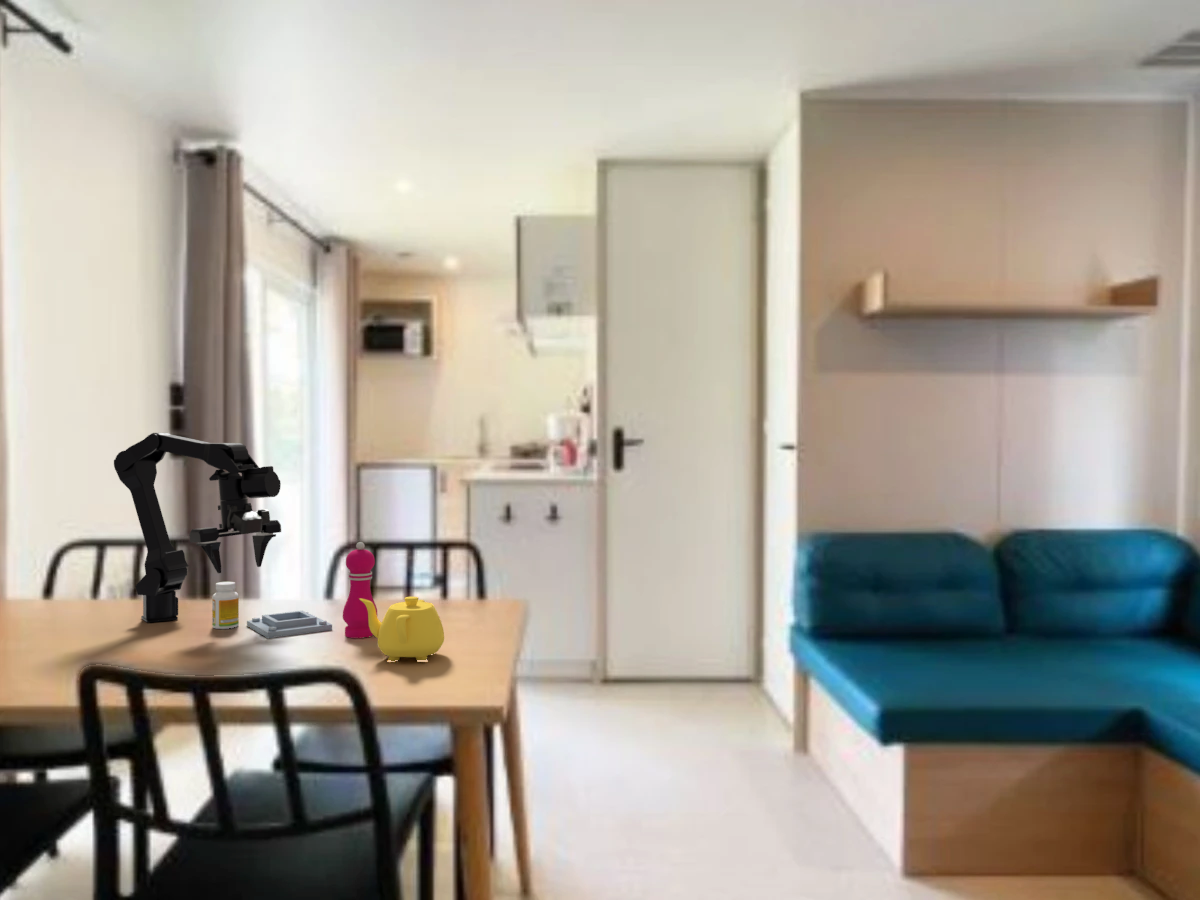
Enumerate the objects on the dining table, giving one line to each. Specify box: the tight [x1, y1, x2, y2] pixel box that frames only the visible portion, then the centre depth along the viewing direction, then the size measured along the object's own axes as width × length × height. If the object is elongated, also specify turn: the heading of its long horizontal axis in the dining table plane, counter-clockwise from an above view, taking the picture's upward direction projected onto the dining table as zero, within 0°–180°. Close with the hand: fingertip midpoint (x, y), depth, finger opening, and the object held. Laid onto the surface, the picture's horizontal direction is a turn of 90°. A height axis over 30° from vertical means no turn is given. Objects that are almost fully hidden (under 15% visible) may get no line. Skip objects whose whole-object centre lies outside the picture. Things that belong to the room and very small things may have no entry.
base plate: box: [246, 610, 333, 639], centre depth 208 cm, size 14×14×3 cm
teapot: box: [360, 596, 445, 661], centre depth 184 cm, size 14×14×12 cm
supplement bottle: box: [211, 581, 240, 630], centre depth 209 cm, size 5×5×10 cm
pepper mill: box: [342, 541, 378, 639], centre depth 202 cm, size 7×7×20 cm
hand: (239, 569), depth 210 cm, fingers open, 9 cm apart
